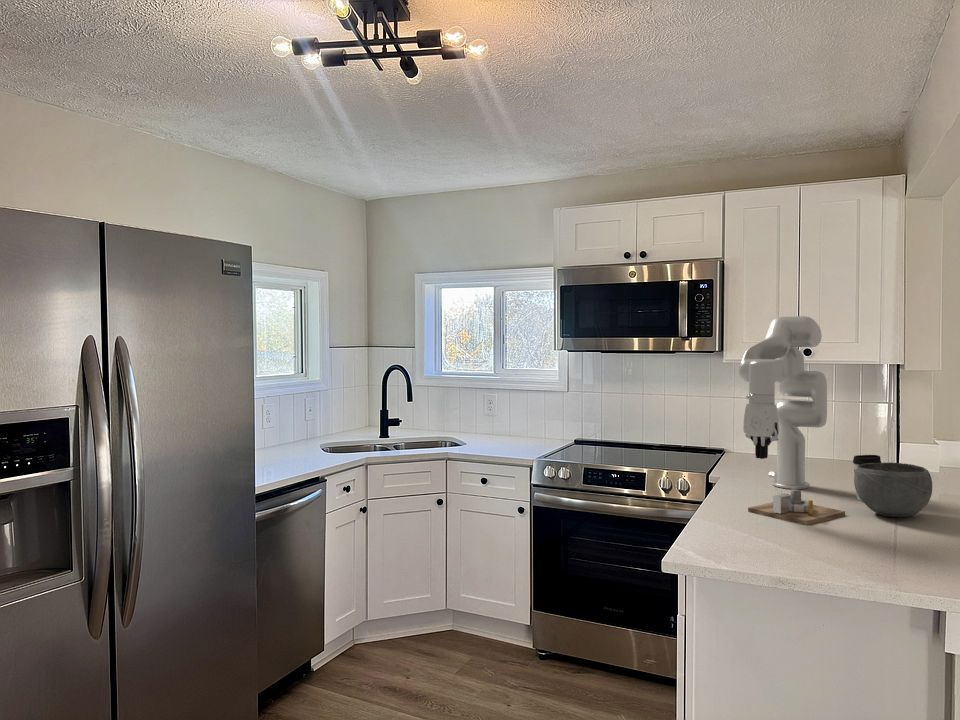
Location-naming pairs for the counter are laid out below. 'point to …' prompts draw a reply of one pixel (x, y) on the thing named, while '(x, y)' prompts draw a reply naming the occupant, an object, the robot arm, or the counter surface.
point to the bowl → (893, 488)
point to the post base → (805, 518)
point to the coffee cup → (863, 460)
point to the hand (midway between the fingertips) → (761, 457)
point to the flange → (788, 504)
